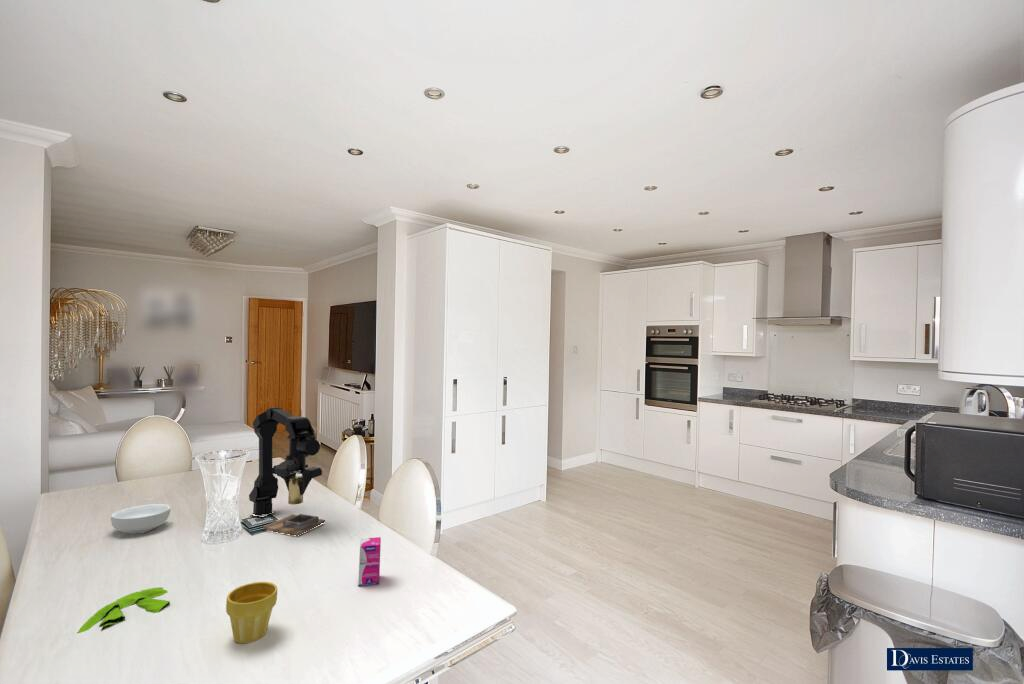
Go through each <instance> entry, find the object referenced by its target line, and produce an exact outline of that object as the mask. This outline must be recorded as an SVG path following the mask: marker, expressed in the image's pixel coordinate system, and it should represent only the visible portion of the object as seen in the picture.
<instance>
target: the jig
mask: <svg viewBox="0 0 1024 684" xmlns="http://www.w3.org/2000/svg"><path fill="white" fill-rule="evenodd" d="M324 522H325V523H326V520H325V519H322V518H320V517H319V516H316V515H311V514H304V513H300V514H297V515H296V514H289V515H287V516H285V517H283V518H281V519H280V518H279V520H276V521H273V522H271V523H268V524H266V525H263V526H262V529H263V528H265V529H267V530H269V531H273V532H278V533H284V534H290V535H296V536H298V535H300V534H302V533H304V532H306V531H308V530H310V529H312V528H314V527H316V526H318V525H320V524H321V523H324Z"/></svg>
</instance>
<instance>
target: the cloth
mask: <svg viewBox="0 0 1024 684" xmlns="http://www.w3.org/2000/svg"><path fill="white" fill-rule="evenodd" d="M168 593H169V592H168V590H166V589H164V587H152V588H147V589H141V590H140V591H135V592H131V593H129V594H126V595H124V596H122V597H120V598H117V599H116V600H115V601H113V602H111V603H108V604H106V605H105V606H103V607H102V608H101V609H99V610H97V611H96V612H95V613H94V614H93V615H92V616H91V617H90V618H88V619H87V620H86V621H85V622H84V624H83V625H82V626H81V627H80V628H79V630H78V631H77V632H76V633H77V634H82V633H84V632H86V631H89V630H90V629H91V628H93V626H95V625H97V624H98V623H99V622H100V621H101V620H102V619H103V620H102V621H101V622H100V623H99V626H98V627H99V628H100V627H101V626H102V625H103V624H104V623H105V622H106V623H105V624H104V625H103V626H102V628H101V629H100V631H101V632H103V629H105V627H106V626H113V625H114V626H115V625H118V624H120V623H123V622H124V621H125V619H126V616H125V615H124V613H123V611H122V609H124V608H128V607H130V606H131V607H132V606H133V605H134V604H136V607H138V608H141V609H142V610H144V611H146V612H148V613H152V614H155V613H156V614H157V613H159V612H160V611H161V610H163V609H164V608H166V607H167V606H169V605H171V601H170V600H165V599H156V598H157V597H160V596H163V595H165V594H168Z"/></svg>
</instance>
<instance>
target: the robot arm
mask: <svg viewBox="0 0 1024 684" xmlns="http://www.w3.org/2000/svg"><path fill="white" fill-rule="evenodd" d="M279 424H281V425H282V426H284V427H285V429H284V430H285V431H286V432H287V433H288V434H289V435H288V436H287V437H286V438H287V439H289V445H288V446H289V447H288V449H289V451H288V454H287V455H286V456H285V460H283V461H282V462H280V463H279V464H275V465H273V438H274V437H275V434H276V432H277V431H278V426H279ZM252 427H253V429H254V430H253V431H254V434H255V435H256V436H257V438H258V476H257V478H256V479H255V480H254V482H253V488H252V489H251V491H250V493H249V495H248V499H249V500H248V501H250V502H252V503H253V507H252V509H253V512H252V514H255V515H262V514H269V513H272V511H273V499H277V495H278V491H279V482H278V481H279V479H278V478H277V477H280V478H282V479H283V481H284V482H285V485H286V488H287V490H288V491H287V492H288V493H289V478H291V477H295V476H296V475H297V474H300V475H301V476H302V477H299V478H298V480H299V481H300V495H303V496H304V494H305V492H306V490H307V488H308V486H309V484H310V482H311V481H312V480H313V479H314V478H316V477H317V478H318V477H320V476H323V470H322V468H321V467H317V466H311V467H309V464H306V461H307V459H306V458H307V457H309V456H310V457H313V456H315V455H317V454H318V453H319V452H320V449H321V444H320V442H319V440H317V439H316V436H315V430H314V427H313V426H312V423H311V422H310V419H309V418H308V417H306V416H297V415H294V414H291V413H290V412H288V411H286V410H284V409H283V408H282V407H269V408H267V409H266V410H265V411H264V412H262V413H260V414H258V415H257V416H256V417H255V418H254V420H253V422H252ZM275 475H276V476H277V477H276V476H275Z"/></svg>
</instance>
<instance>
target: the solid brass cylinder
mask: <svg viewBox="0 0 1024 684" xmlns="http://www.w3.org/2000/svg"><path fill="white" fill-rule="evenodd" d="M299 477H302V475H301V476H298V475H297V476H295V477H291V478H289V492H288V504H289V505H294V506H295V505H300V504H303V503H304V494H303V495H300V481H299V480H298V478H299Z"/></svg>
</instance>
